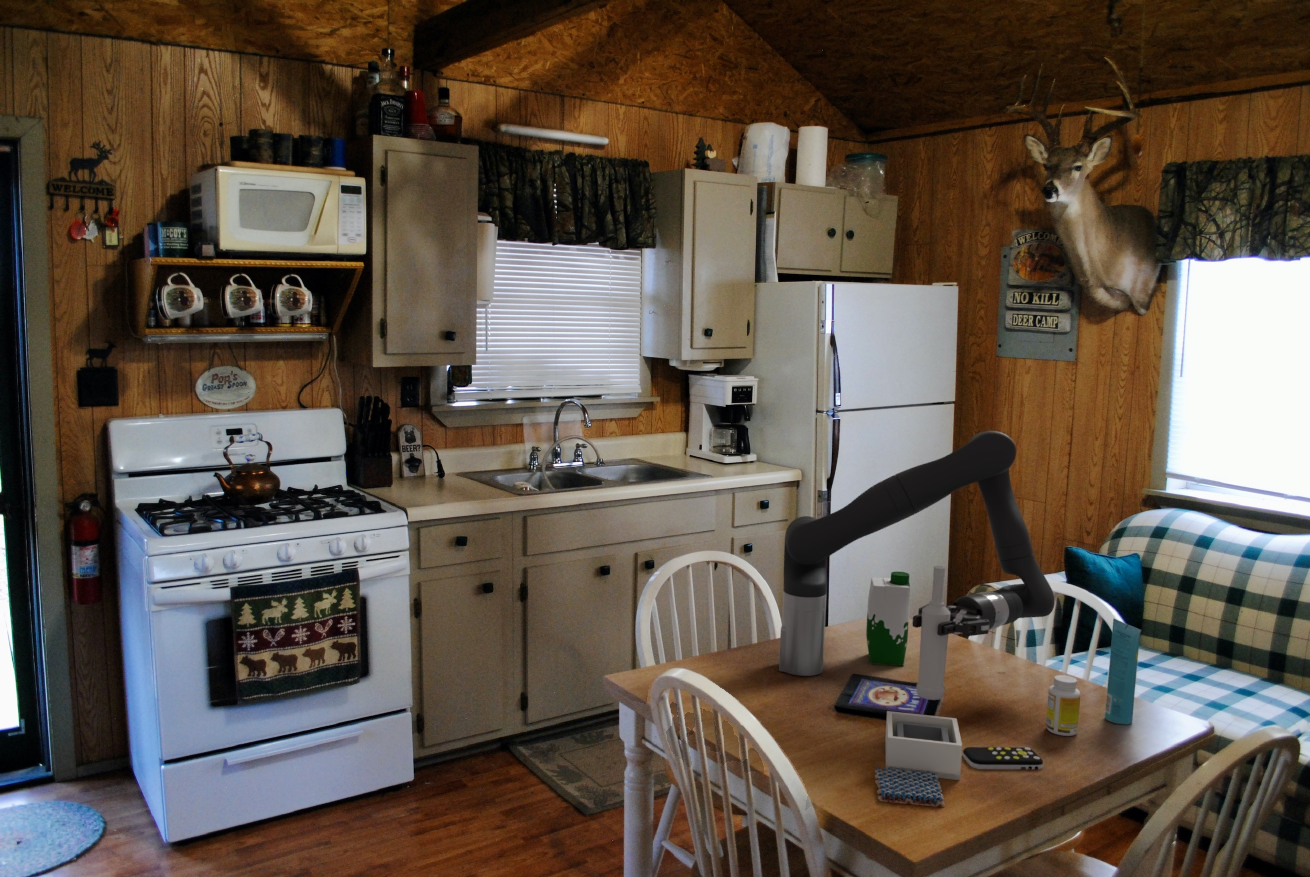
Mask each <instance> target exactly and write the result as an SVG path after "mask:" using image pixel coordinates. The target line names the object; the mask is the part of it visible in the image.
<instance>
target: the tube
mask: <svg viewBox="0 0 1310 877" xmlns="http://www.w3.org/2000/svg"><path fill="white" fill-rule="evenodd" d="M1141 632H1142V629H1139V628H1137V627H1135V626H1132V625H1130V624H1128V623H1125V622H1124V621H1121V620H1119V619H1116V618H1113V621H1112V631H1111V642H1110V644H1111V645H1110V653H1109V654H1110V656H1109V668H1108V676H1107V677H1108V678H1107V690H1106V699H1105V700H1106V701H1105V712H1104V717H1105V719H1106V721H1108V722H1112V723H1113V724H1116V725H1117V724H1118V725H1119V724H1120V725H1129V724H1132V723H1133V717H1134V706H1135V704H1134V703H1135V694H1136V693H1135V691H1136V682H1137V680H1136V679H1137V672H1138V671H1137V669H1138V660H1139V659H1138V658H1139V651H1140V649H1139V648H1140V639H1141Z"/></svg>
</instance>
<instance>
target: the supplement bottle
mask: <svg viewBox="0 0 1310 877" xmlns="http://www.w3.org/2000/svg"><path fill="white" fill-rule="evenodd" d="M1053 678H1054V679H1053V684H1052V685H1050V686H1049V687H1048V692H1047V693H1048V694H1047V695H1048V696H1047V708H1046V709H1047V710H1046V723H1045V725H1046V729H1047V730H1048V731H1049V732H1050V733H1052V734H1054V735H1057V736H1064V737H1072V736H1075V735H1076V734H1077V733H1078V731H1079V719H1080V717H1079V716H1080V708H1081V705H1080V704H1081V691H1080V690H1079V689H1078V687H1077V686H1078V685H1077V684H1078V680H1077V679H1076V678H1075V677H1072V676H1069V675H1064V674H1063V675H1062V674H1061V675H1060V674H1057V675H1055V676H1054V677H1053Z"/></svg>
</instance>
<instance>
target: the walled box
mask: <svg viewBox="0 0 1310 877" xmlns="http://www.w3.org/2000/svg"><path fill="white" fill-rule="evenodd" d="M885 722H886V723H885V724H886V725H885V739H884V742H885V744H884V745H885V746H884V748H885V769H886V771H888V768H890V770H891V771H892V772H893V770H895V772H896V771H897V770H898V769H900V771H902V770H905V772H906V771H907V770H910V772H912V771H915V773H916V772H917V771H919V772H920V773H921V774H922V772H925V775H926V774H927V771H929V773H930V774H931V775H932V773H935V776H936V775H937V776H938V779H945V780H946V779H947V780H955V781H961V771H962V758H963V743H962V742H963V741H962V738H961V734H960V728H959V723H958V719H957V718H955V717H947V716H946V717H945V716H938V715H937V716H936V715H927V714H918V713H917V714H916V713H909V712H899V711H898V712H897V711H889V710H887V711H886V721H885ZM906 774H907V773H906ZM916 775H917V774H916ZM922 775H923V774H922Z"/></svg>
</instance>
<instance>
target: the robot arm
mask: <svg viewBox="0 0 1310 877" xmlns="http://www.w3.org/2000/svg"><path fill="white" fill-rule="evenodd" d="M1016 458H1017V447H1016V443H1015V442H1014V440H1013V439H1012V438H1011V437H1010V436H1008V435H1007V434H1005V433H1003V432H1001V431H997V430H987V431H986V430H985V431H981V432H979V433H976V434H975V435H973V436H972V437H971V438H970V439H969V440H968V442H967V443H966V444H964V445H963V446H961V447H959V448H958V449H956V450H954V451H952V452H951V453H949V454H946V455H945V456H942V457H941V458H938V459H935V460H932V461H929V462H925V463H921V464H919V465H915V466H913V467H910V468H907V469H906V470H905V469H904V470H902V471H900V472H898V473H895V474H894V475H892V476H889V477H887V478H885V479H883V480H880V481H879V482H877V483H875V484H873V485H872V486H870V487H869V488H868V489H866V490H865V491H863V492H862V493H861V494H860V495H858V496H857V497H855V499H853V500H852V501H851V502H850V503H848V504H846V505H845V506H843V507H842V508H840V509H838V510H837V511H835V512H832V513H830V514H827V515H825V516H822V517H820V518H815V517H813V516H808V515H804V516H800V517H797V518H795V519H793V520H791V522H790V523H789V524H788V527H787V528H786V531H785V535H784V550H783V552H784V553H783V594H782V615H781V616H782V618H781V626H780V638H779V640H780V641H779V659H778V660H779V661H778V671H779V672H783V673H785V674H789V675H794V676H801V677H803V676H804V677H810V676H811V677H812V676H816V675H820V674H821V673H822V672H823V670H824V668H823V667H824V651H825V650H824V649H825V634H826V633H825V631H826V615H827V614H826V610H827V595H828V594H827V593H828V592H827V590H828V576H827V566H828V564H827V562H828V560H827V559H828V558H829V557H830V556H832V555H833V554H835V553H837V552H839V551H840V550H842V549H843V548H846V546H849V545H850V544H852V543H853V542H855V541H858V540H859V539H861V538H864V537H867V536H869V535H872V534H874V533H876V532H879V531H881V530H883V529H886V528H888V527H889V526H893V525H895V524H897V523H899V522H901V521H903V520H906V519H907V518H911V516H914V515H916V514H918V513H920V512H922V511H923V510H925V509H928V508H929V507H931V506H932V505H935V504H937V503H939V502H940V501H941V500H943V499H945V498H946V497H948V496H949V495H951V494H953V493H955V492H956V491H958V490H960V489H962V488H965V487H967V486H970V485H972V484H974V483H977V485H978V487H979V490H980V493H981V495H982V498H983V502H984V506H985V508H986V512H987V517H988V520H989V525H990V529H991V532H992V533H991V534H992V537H993V541H994V545H995V550H996V554H997V558H998V561H999V564H1000V565H999V566H1000V569H1001V570H1002V572H1003V573H1005V574H1007V575H1012V576H1017V577H1018V578H1019V579H1020V580H1021V581H1022V583H1015V584H1009V585H1005V586H1003V587H1001V588H999V589H995V590H991V591H980V592H977V593H972V594H968V595H963V596H960V597H959V598H957V599H956V600H955V601H953V603H952V605H947V606H945V607H946V608H947V609H948V610H949V611H950V621H948V622H944V623H940V624H939V625H938V631H937V634H938V635H940V636H944V635H948V636H949V635H950V634H951V635H952V634H953V635H959V634H961V635H962V636H963V637H972V636H973V637H974V636H980V635H988V634H989V633H990V632H989V631H993V630H995V629H997V628H999V627H1002V626H1005V625H1009V624H1012V623H1014V622H1015V621H1017V620H1019V619H1025V618H1027V619H1028V618H1030V619H1031V618H1044V617H1047V616H1049V615H1051V613H1052V612H1053V611H1054V608H1055V603H1056V602H1055V601H1056V600H1055V594H1054V591H1053V589H1052V587H1051V585H1050V583H1049V582H1048V580H1047V578H1046V576H1045V574H1044V573H1043V571H1042V569H1041V567H1040V565H1039V564H1038V562H1037V560H1036V557H1035V554H1034V550H1033V546H1032V545H1033V544H1032V542H1031V538H1030V534H1029V532H1028V527H1027V525H1026V523H1025V520H1024V517H1023V515H1022V513H1021V511H1020V508H1019V506H1018V502H1017V501H1016V498H1015V494H1014V490H1013V486H1012V482H1011V476H1010V468H1011V467H1012V466H1013V464H1014V463H1015V461H1016ZM927 605H929V603H928V604H925V605H923V606H920V607H919V608H918V611H917V614H916V615H914V616H913V617H912V623H911V624H912V627H913V628H915V629H918V628H921V622H922V609H923V608H925V607H926V606H927Z"/></svg>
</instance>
